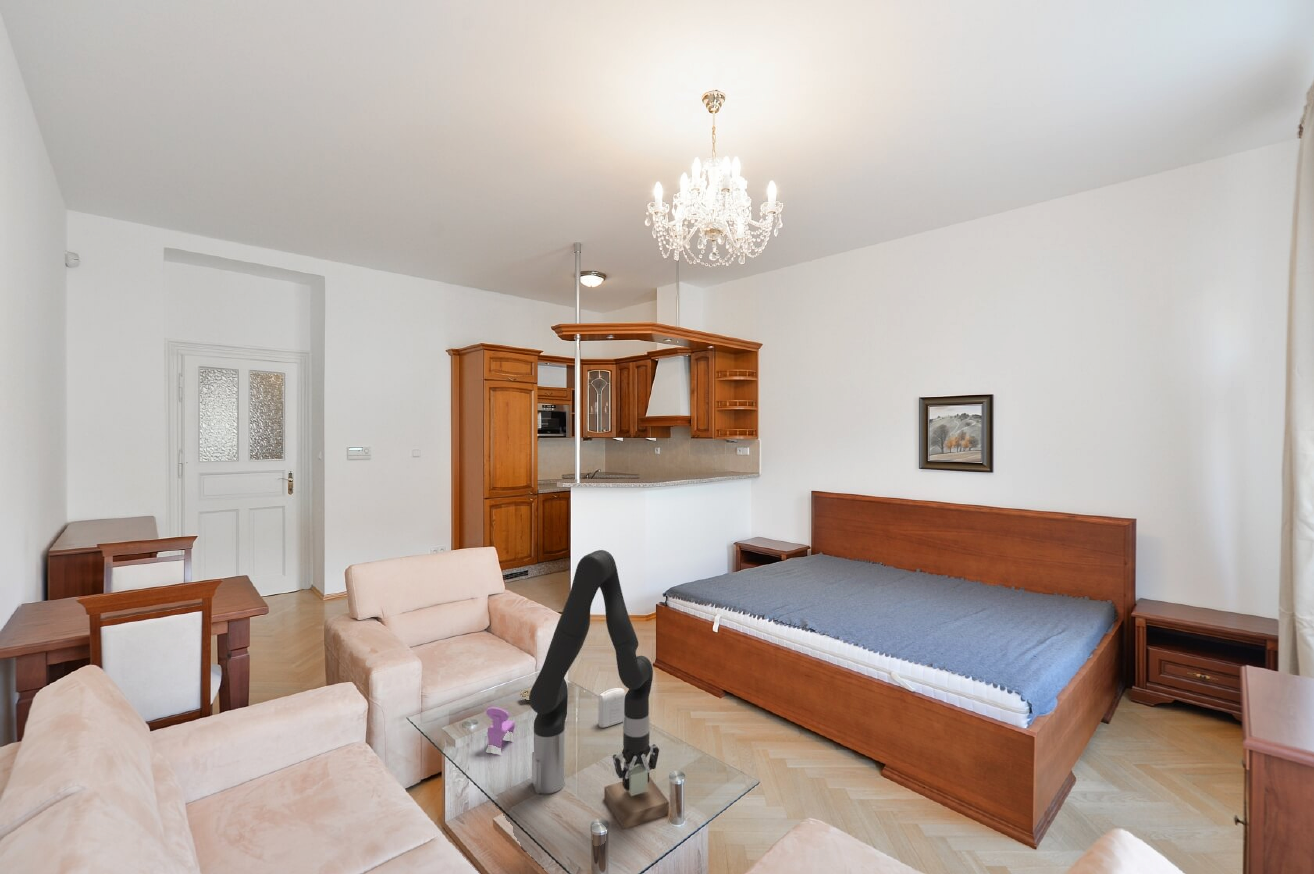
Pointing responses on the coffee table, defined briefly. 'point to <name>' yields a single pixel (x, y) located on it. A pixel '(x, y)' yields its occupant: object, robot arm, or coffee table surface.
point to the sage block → (638, 780)
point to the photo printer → (611, 707)
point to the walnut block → (635, 804)
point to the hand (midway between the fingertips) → (636, 785)
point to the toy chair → (498, 726)
